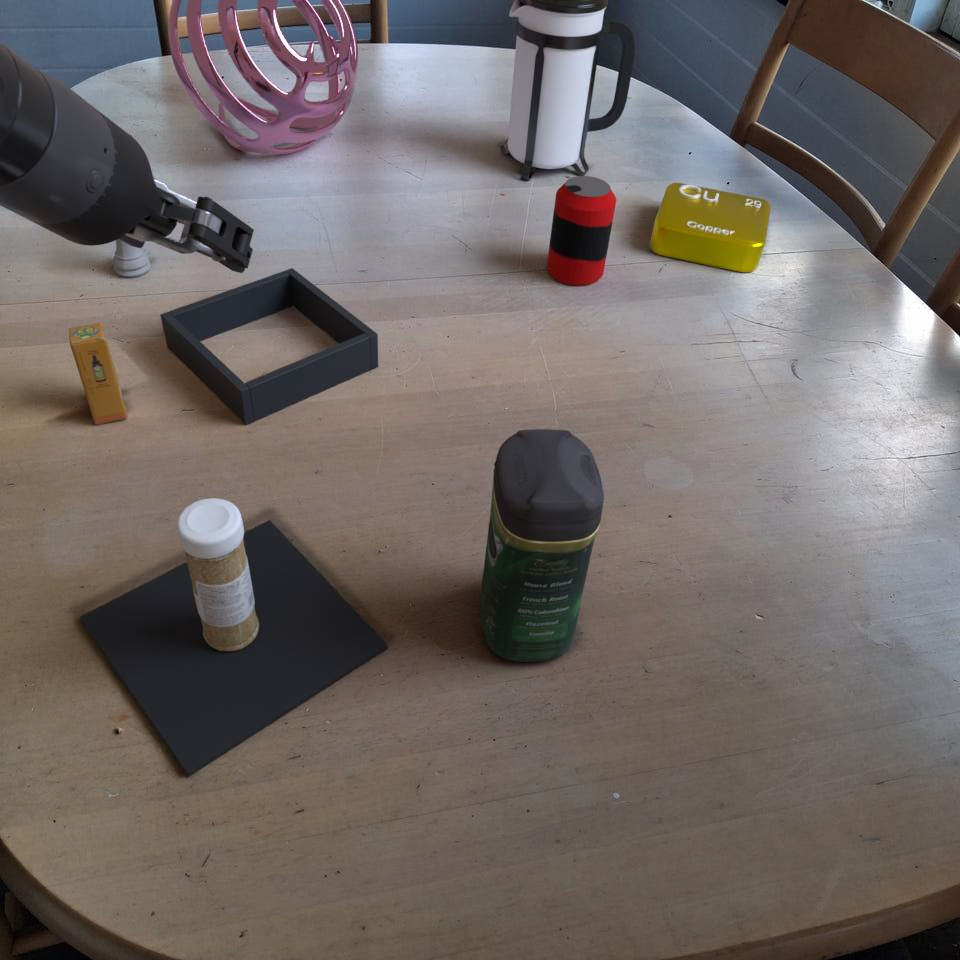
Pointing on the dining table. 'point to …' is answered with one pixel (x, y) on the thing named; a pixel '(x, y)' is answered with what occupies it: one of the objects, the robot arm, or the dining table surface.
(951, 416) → the dining table surface
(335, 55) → the spiral basket
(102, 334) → the supplement box
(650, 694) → the dining table surface
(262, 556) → the mat
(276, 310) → the dark grey square frame
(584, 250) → the soda can
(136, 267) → the rook chess piece
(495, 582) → the coffee jar
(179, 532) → the sprinkles bottle
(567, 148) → the coffee press
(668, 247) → the element tile
